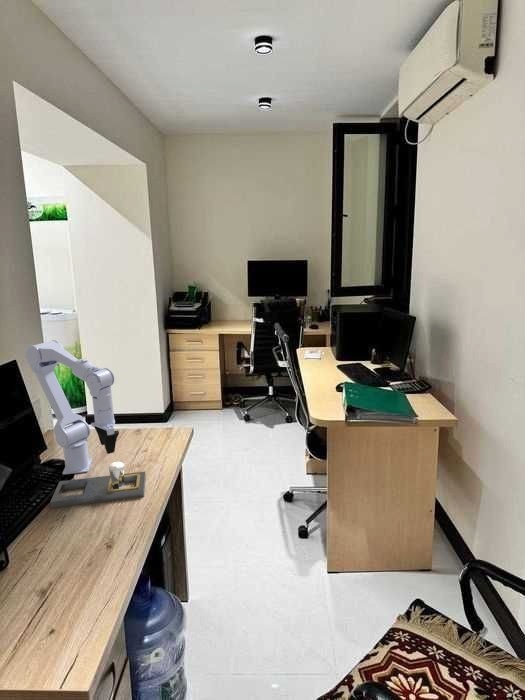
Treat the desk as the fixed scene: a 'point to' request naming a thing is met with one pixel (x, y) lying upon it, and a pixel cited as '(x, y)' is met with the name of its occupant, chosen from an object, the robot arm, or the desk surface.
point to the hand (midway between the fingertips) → (107, 448)
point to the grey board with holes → (98, 490)
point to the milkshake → (117, 474)
